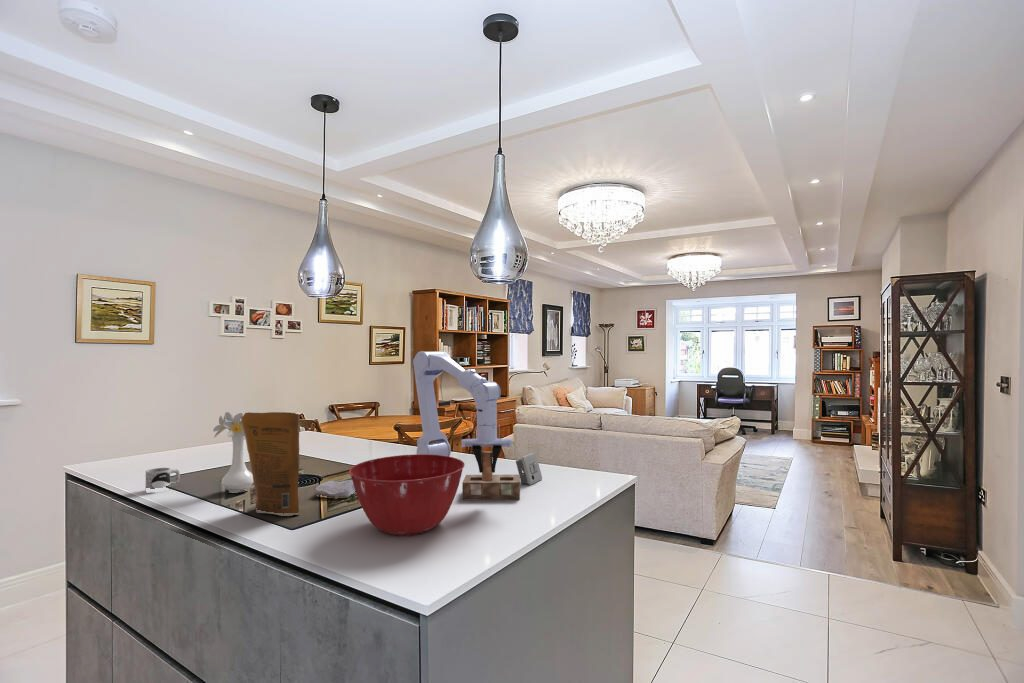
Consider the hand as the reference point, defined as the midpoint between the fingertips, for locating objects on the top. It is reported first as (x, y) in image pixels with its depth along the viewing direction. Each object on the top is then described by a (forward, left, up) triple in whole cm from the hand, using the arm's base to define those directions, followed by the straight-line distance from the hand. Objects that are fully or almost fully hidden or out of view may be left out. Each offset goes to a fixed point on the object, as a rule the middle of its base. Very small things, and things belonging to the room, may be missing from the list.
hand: (487, 471), depth 153 cm
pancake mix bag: (-58, -7, -10) cm, 59 cm away
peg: (0, 0, -2) cm, 2 cm away
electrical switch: (+12, +26, -10) cm, 31 cm away
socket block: (+1, +10, -9) cm, 14 cm away
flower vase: (-80, +15, -10) cm, 82 cm away
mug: (-107, +18, -10) cm, 109 cm away
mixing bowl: (-19, -19, -10) cm, 28 cm away
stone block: (-48, +11, -10) cm, 50 cm away
